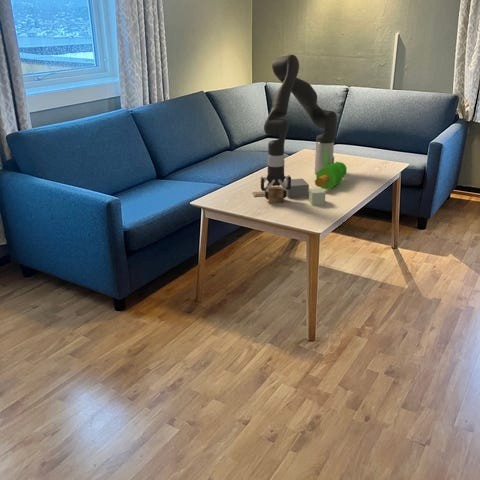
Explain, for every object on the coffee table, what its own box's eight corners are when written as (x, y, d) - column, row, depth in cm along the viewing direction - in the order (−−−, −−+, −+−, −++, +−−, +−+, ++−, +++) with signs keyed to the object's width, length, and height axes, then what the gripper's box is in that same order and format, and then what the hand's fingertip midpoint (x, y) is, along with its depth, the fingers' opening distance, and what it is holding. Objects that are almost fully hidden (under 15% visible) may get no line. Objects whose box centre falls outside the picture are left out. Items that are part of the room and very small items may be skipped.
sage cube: (321, 200, 244) (322, 188, 242) (324, 204, 239) (325, 192, 236) (308, 201, 243) (309, 188, 241) (312, 205, 238) (312, 193, 235)
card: (264, 192, 256) (264, 190, 256) (266, 196, 251) (266, 194, 250) (252, 192, 255) (252, 191, 255) (254, 196, 250) (254, 195, 250)
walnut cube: (280, 198, 248) (280, 186, 245) (283, 202, 242) (283, 190, 240) (268, 199, 247) (268, 186, 245) (270, 203, 242) (270, 191, 239)
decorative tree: (314, 166, 251) (340, 150, 273) (306, 186, 257) (332, 169, 280) (334, 179, 247) (359, 161, 269) (325, 198, 254) (350, 180, 276)
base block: (301, 190, 258) (302, 178, 256) (308, 196, 249) (308, 184, 247) (282, 191, 257) (282, 180, 254) (288, 198, 248) (288, 186, 245)
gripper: (289, 160, 242) (289, 195, 248) (258, 162, 240) (259, 196, 247) (293, 165, 235) (292, 200, 241) (261, 167, 233) (261, 202, 240)
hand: (275, 198), depth 244 cm, fingers open, 7 cm apart
